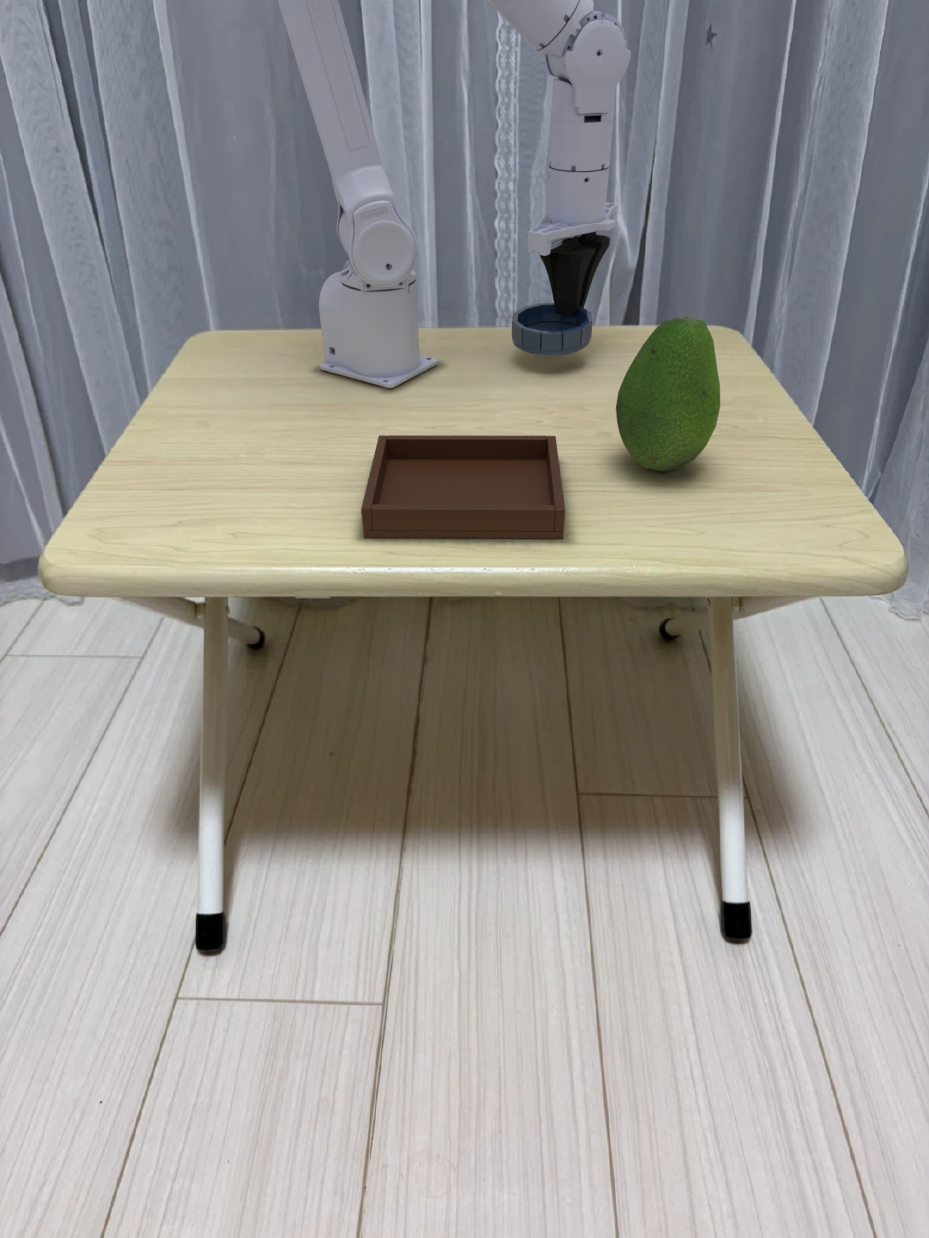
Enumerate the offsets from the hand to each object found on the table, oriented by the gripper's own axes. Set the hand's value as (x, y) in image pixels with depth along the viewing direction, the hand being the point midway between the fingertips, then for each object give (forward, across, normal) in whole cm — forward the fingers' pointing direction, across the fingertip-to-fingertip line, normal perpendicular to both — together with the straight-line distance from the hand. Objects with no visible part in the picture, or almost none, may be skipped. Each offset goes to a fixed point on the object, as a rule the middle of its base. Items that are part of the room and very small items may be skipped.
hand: (569, 312), depth 89 cm
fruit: (+4, -19, -19) cm, 27 cm away
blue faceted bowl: (+2, -4, 0) cm, 4 cm away
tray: (+4, -32, -9) cm, 33 cm away
